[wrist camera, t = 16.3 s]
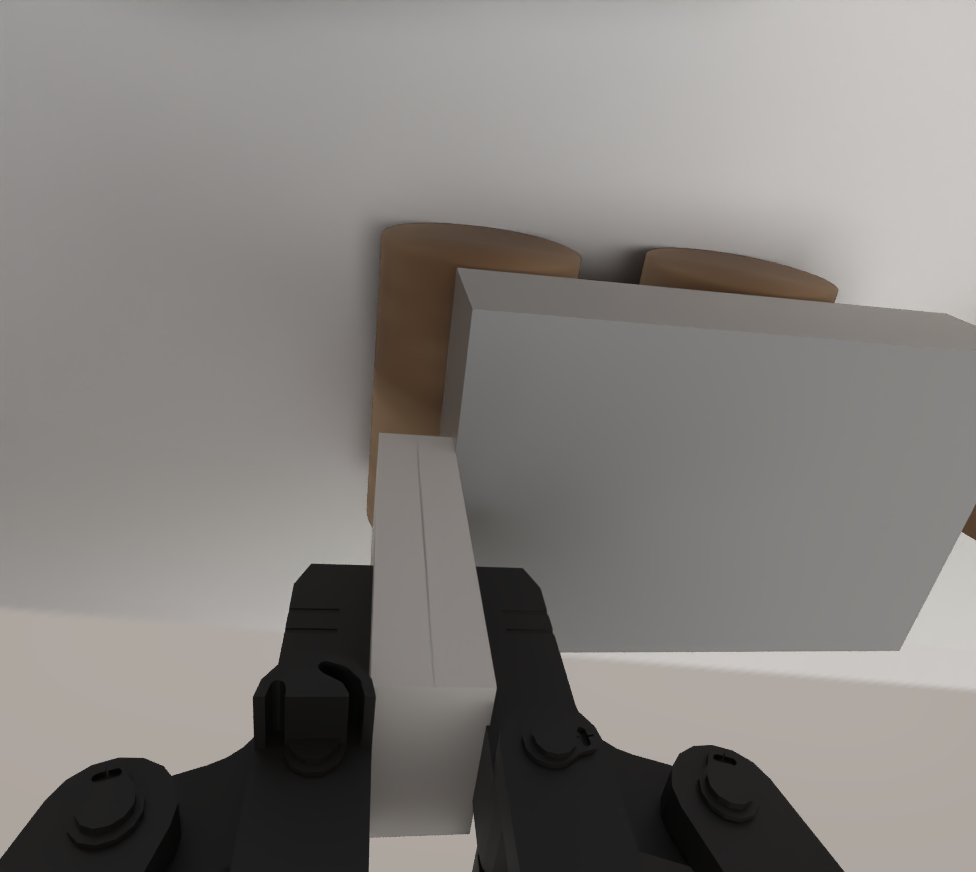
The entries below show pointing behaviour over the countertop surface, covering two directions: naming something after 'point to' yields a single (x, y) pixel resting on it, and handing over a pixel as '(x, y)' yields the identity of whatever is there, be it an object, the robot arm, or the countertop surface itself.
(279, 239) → the countertop surface
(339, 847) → the robot arm
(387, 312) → the resting rollers
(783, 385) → the slab
